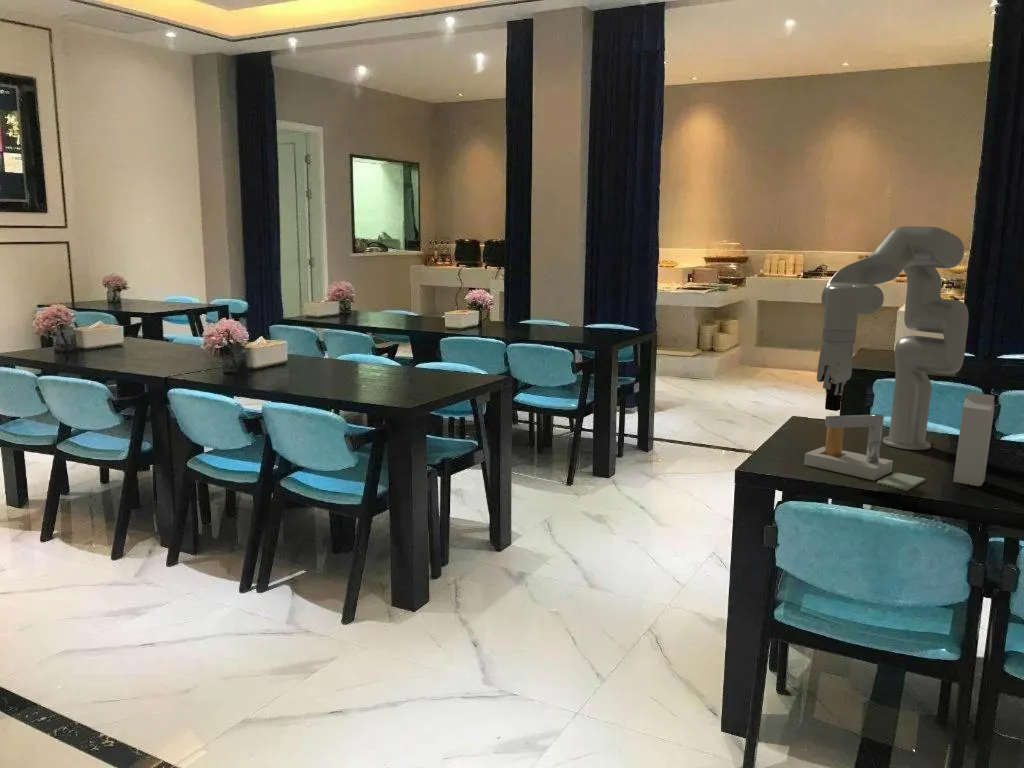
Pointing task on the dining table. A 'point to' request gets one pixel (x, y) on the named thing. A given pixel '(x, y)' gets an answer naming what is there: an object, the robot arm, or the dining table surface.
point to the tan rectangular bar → (834, 442)
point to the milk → (974, 439)
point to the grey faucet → (862, 421)
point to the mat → (901, 481)
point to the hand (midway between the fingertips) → (832, 409)
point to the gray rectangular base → (849, 464)
